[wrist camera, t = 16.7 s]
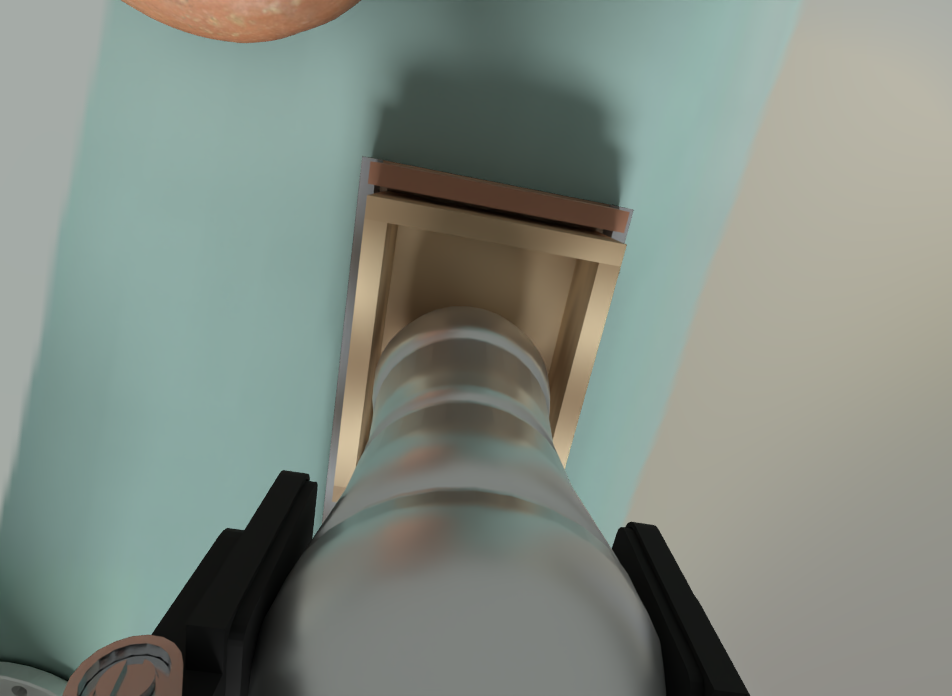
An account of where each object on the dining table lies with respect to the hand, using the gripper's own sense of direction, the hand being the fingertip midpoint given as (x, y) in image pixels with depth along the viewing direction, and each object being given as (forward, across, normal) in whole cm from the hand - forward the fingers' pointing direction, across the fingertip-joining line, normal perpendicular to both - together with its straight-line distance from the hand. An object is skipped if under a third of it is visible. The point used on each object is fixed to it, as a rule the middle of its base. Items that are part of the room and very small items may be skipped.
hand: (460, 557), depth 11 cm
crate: (+14, 0, 0) cm, 14 cm away
